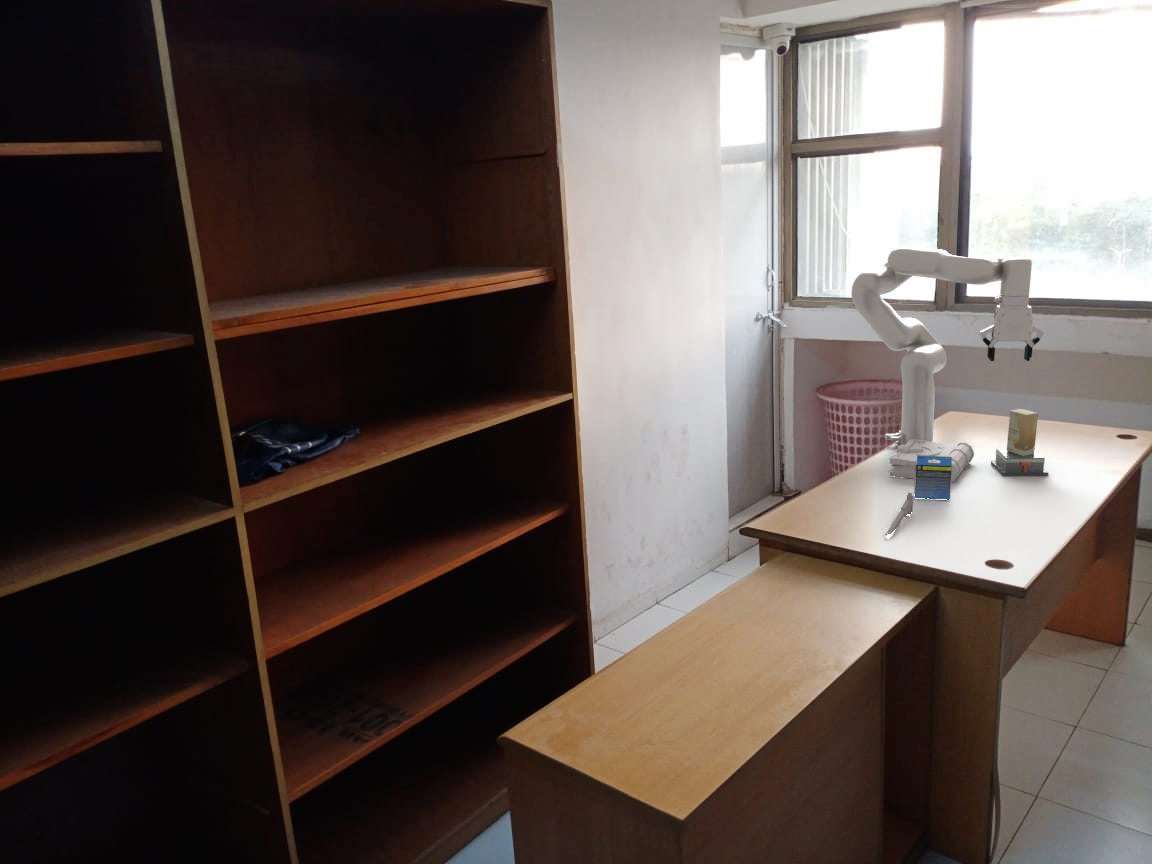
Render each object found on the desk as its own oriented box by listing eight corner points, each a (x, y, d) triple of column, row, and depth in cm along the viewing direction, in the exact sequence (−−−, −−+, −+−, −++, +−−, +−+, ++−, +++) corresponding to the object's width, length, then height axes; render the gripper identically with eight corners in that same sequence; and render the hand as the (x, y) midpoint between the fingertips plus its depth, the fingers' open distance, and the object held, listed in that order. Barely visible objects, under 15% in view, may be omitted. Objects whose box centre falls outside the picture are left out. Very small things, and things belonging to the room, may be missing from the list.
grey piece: (1002, 476, 261) (1003, 459, 259) (990, 463, 272) (991, 447, 271) (1048, 475, 259) (1049, 458, 257) (1034, 463, 270) (1035, 447, 269)
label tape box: (949, 496, 247) (951, 452, 243) (950, 501, 243) (952, 456, 240) (914, 495, 249) (915, 451, 246) (914, 500, 245) (916, 455, 242)
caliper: (908, 514, 236) (909, 490, 235) (912, 515, 235) (913, 491, 234) (884, 540, 220) (885, 515, 218) (889, 541, 219) (889, 516, 218)
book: (977, 460, 278) (978, 435, 276) (956, 486, 255) (956, 459, 254) (911, 454, 288) (911, 430, 287) (885, 478, 266) (885, 453, 264)
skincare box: (1005, 451, 266) (1008, 410, 263) (1017, 449, 268) (1020, 408, 265) (1024, 456, 261) (1027, 414, 257) (1035, 454, 262) (1038, 412, 259)
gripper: (985, 303, 263) (980, 363, 267) (1050, 302, 260) (1044, 362, 264) (978, 300, 270) (974, 358, 274) (1042, 299, 267) (1036, 357, 271)
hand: (1009, 360), depth 269 cm, fingers open, 9 cm apart
